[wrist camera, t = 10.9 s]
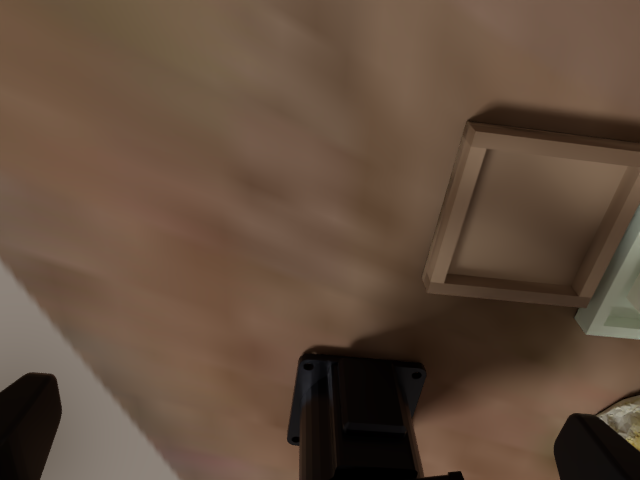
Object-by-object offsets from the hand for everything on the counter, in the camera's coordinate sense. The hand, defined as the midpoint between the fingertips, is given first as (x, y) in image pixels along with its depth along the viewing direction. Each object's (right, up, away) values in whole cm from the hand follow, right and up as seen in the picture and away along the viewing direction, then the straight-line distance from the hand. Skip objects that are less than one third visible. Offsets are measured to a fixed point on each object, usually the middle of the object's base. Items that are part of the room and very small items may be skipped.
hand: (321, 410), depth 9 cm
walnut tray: (+9, +4, +13) cm, 16 cm away
